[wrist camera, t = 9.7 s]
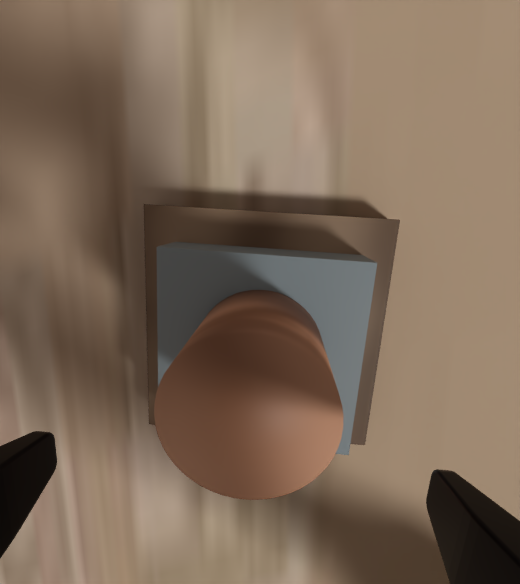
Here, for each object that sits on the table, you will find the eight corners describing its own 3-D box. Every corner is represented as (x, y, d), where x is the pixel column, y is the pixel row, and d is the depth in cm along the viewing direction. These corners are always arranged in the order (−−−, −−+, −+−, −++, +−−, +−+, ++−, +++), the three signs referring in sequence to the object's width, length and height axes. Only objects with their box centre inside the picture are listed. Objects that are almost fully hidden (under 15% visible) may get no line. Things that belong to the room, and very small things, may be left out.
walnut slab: (383, 218, 18) (400, 219, 15) (355, 417, 20) (364, 445, 18) (162, 205, 18) (143, 204, 16) (164, 399, 21) (149, 424, 19)
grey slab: (362, 255, 16) (377, 262, 13) (339, 421, 18) (348, 455, 15) (175, 241, 16) (156, 246, 14) (175, 405, 18) (158, 435, 16)
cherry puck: (327, 292, 14) (352, 337, 9) (318, 410, 15) (334, 506, 10) (195, 286, 14) (149, 326, 9) (197, 403, 15) (158, 492, 10)
